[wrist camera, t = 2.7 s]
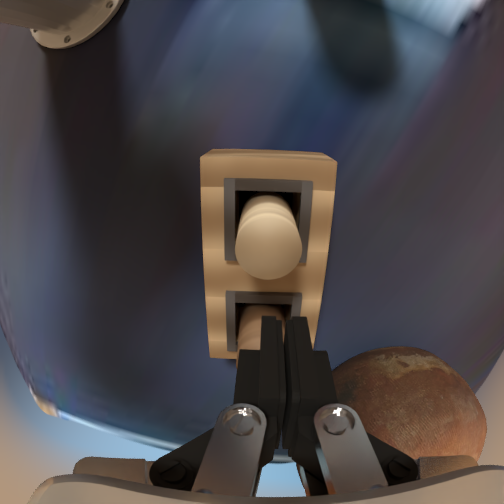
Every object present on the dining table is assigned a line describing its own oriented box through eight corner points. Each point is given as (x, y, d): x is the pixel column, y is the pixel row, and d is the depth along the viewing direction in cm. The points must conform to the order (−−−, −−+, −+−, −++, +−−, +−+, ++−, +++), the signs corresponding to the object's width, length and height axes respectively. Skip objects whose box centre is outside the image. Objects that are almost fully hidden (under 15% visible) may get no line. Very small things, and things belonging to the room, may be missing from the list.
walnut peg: (240, 296, 28) (235, 345, 22) (285, 297, 28) (291, 346, 22) (240, 331, 30) (236, 381, 24) (282, 332, 29) (286, 383, 23)
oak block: (212, 149, 27) (198, 158, 21) (322, 152, 27) (339, 163, 21) (216, 321, 35) (209, 361, 29) (304, 324, 35) (311, 364, 29)
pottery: (293, 323, 35) (316, 546, 12) (461, 307, 34) (559, 452, 11) (288, 431, 44) (294, 572, 22) (417, 413, 43) (457, 532, 21)
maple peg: (241, 190, 24) (234, 217, 18) (293, 192, 24) (304, 219, 18) (241, 239, 26) (235, 278, 20) (290, 240, 26) (299, 280, 20)
